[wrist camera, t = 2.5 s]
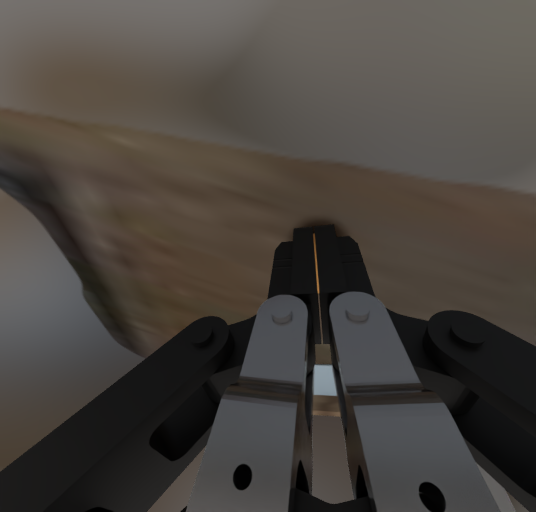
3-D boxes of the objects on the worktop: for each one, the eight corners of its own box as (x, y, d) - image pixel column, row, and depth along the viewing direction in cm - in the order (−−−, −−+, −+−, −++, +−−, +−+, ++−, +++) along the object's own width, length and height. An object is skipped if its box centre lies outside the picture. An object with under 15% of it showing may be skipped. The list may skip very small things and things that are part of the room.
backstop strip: (353, 395, 46) (356, 413, 44) (353, 400, 47) (355, 417, 45) (301, 393, 48) (300, 409, 46) (302, 397, 49) (301, 414, 47)
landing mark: (358, 365, 40) (359, 366, 40) (356, 395, 46) (356, 396, 46) (292, 363, 42) (292, 364, 42) (298, 393, 48) (298, 394, 48)
